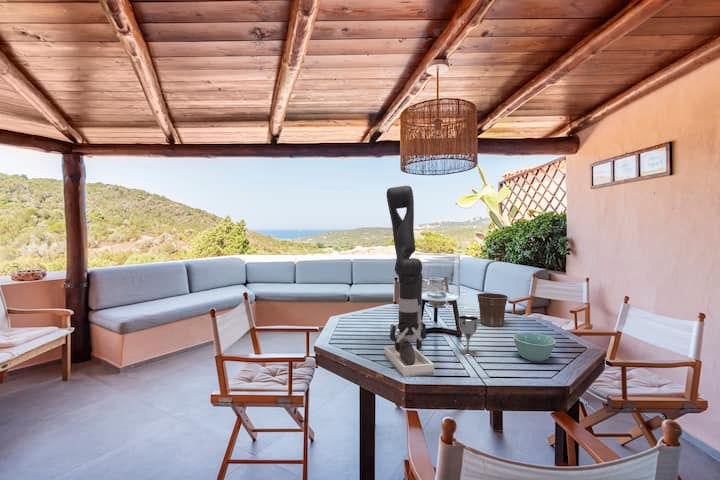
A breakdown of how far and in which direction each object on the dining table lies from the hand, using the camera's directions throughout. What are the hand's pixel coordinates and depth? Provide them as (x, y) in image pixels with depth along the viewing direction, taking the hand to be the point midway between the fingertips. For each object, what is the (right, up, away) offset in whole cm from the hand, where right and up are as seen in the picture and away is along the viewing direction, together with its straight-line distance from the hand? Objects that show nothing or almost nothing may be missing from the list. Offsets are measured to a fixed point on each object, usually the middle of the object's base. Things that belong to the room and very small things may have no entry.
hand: (408, 350), depth 137 cm
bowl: (+53, -6, +7) cm, 53 cm away
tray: (0, -5, 0) cm, 5 cm away
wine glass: (+28, -5, +13) cm, 31 cm away
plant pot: (+55, -4, +58) cm, 80 cm away
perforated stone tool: (0, -5, 0) cm, 5 cm away
